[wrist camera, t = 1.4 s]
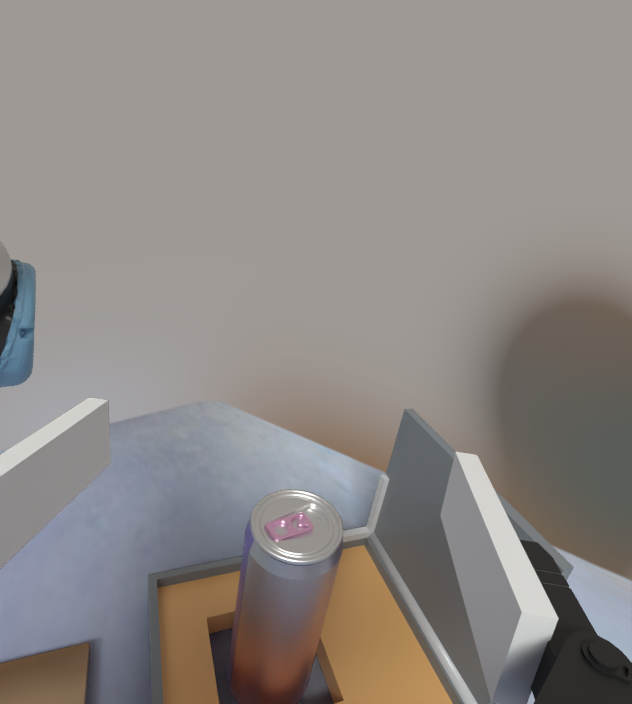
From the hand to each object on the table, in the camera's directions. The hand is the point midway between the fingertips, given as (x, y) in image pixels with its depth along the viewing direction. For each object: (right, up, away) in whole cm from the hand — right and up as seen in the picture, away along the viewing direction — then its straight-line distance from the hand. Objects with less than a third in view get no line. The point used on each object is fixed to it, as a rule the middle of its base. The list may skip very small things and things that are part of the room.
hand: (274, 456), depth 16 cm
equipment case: (0, -20, +16) cm, 25 cm away
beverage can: (-2, -20, +15) cm, 25 cm away
